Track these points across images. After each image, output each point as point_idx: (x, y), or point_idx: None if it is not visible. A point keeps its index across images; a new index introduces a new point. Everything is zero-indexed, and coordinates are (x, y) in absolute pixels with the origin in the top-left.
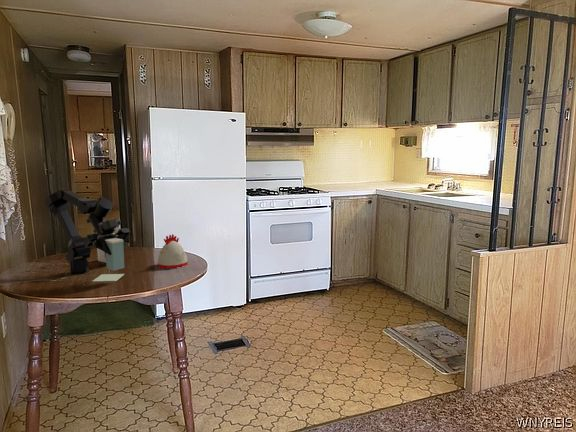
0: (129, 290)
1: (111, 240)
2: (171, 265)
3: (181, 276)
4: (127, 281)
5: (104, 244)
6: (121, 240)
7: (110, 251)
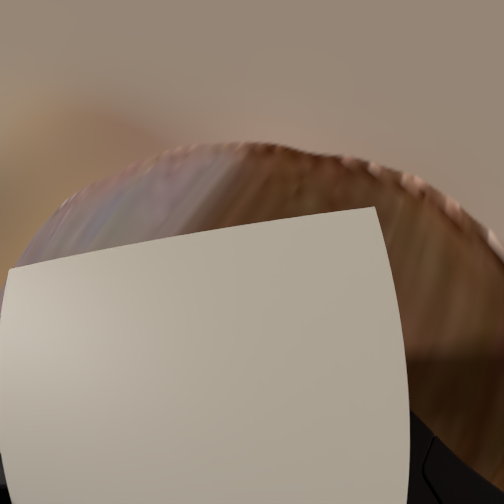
0: (325, 195)
1: (243, 495)
2: None
3: (93, 219)
4: None
5: (458, 489)
6: (45, 267)
7: None
